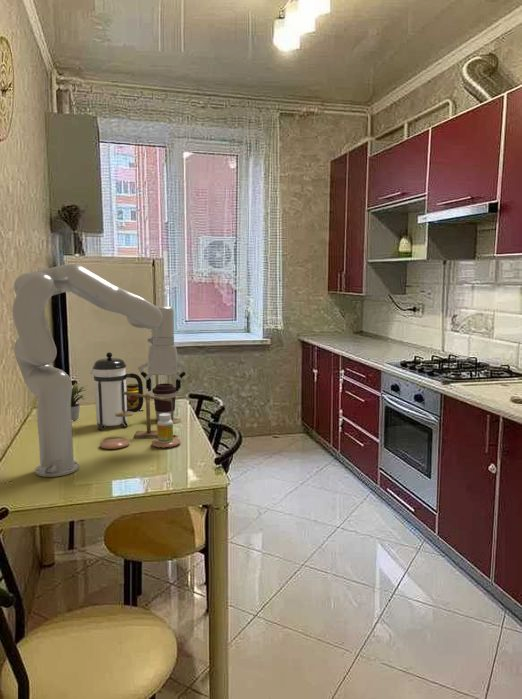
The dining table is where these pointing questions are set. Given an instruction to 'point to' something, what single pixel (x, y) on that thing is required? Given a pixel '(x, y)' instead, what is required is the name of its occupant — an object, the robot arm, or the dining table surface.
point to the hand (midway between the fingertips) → (163, 390)
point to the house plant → (74, 406)
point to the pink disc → (114, 443)
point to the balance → (146, 433)
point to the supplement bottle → (165, 428)
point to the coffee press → (112, 391)
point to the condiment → (132, 400)
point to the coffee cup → (164, 392)
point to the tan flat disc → (163, 445)
